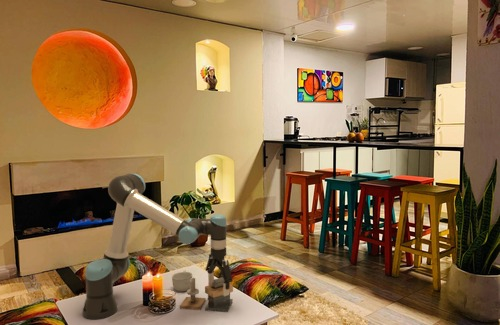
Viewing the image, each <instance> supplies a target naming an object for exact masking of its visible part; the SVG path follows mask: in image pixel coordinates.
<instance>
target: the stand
mask: <svg viewBox="0 0 500 325" xmlns="http://www.w3.org/2000/svg"><path fill="white" fill-rule="evenodd" d="M199 292H200V290H199V289H198V288H196V278H195V277H192V278H190V289H188V290H187V291H186V294H187V295H188V296H185V298H184V299H183V301H182V302H181V303H180V305H179V310H180V309H181V310H196V311H201V310H202V308H203V306H204V305H205V302H206V301H207V299H206V297H199V296H198V297H196V295H198V294H199Z"/></svg>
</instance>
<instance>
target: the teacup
mask: <svg viewBox="0 0 500 325" xmlns="http://www.w3.org/2000/svg"><path fill="white" fill-rule="evenodd" d="M190 278H193V273H192V272H190V271H186V270H183V271H180V272H179V271H178V272H175V273H174V274H172V275H171V279H172V280H171V282H172V287H173V289H174V290H176V292H177V291H178V292H187V290H189V289H190Z"/></svg>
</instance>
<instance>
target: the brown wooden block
mask: <svg viewBox="0 0 500 325" xmlns="http://www.w3.org/2000/svg"><path fill="white" fill-rule="evenodd" d="M233 292H234V285H233V284H231V283H230V288H229V293H230V294H231V293H233ZM204 293H205V294H207V296H208V295H210V296H211V297H213V298H214V297H217V296H221V295H224V287H221V288H217V289H213V288H212V285H209V286H208V285H206V286H204Z"/></svg>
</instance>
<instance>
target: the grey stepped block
mask: <svg viewBox="0 0 500 325" xmlns="http://www.w3.org/2000/svg"><path fill="white" fill-rule="evenodd" d="M223 282H225V281H224V279H223V277H219V278H214V282H213V283H212V288H213V289H217V288H221V287H224V283H223ZM207 301H208V302H207V304H206V306H205V308H204V311H205V312H217V313H218V312H219V313H221V312H222V313H229V311H230V309H231V306H232V304H233V298H231V293H229V295H227V296H224V295H221V296H217V297H214V298H213V297H211V296H210V295H208V294H207Z"/></svg>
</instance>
